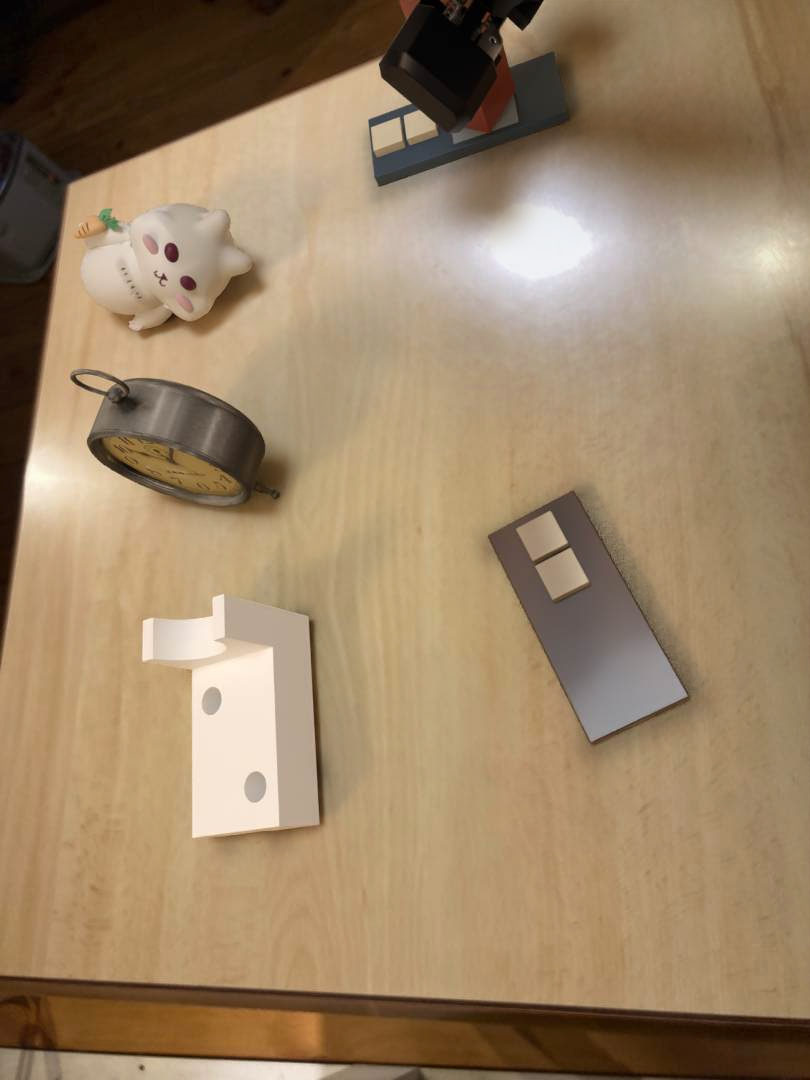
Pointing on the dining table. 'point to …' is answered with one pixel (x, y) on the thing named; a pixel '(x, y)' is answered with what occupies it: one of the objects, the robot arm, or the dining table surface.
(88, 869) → the dining table surface
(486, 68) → the robot arm
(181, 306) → the cat figurine
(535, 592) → the board
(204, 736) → the bracket
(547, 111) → the board
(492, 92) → the terracotta brick
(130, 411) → the alarm clock
